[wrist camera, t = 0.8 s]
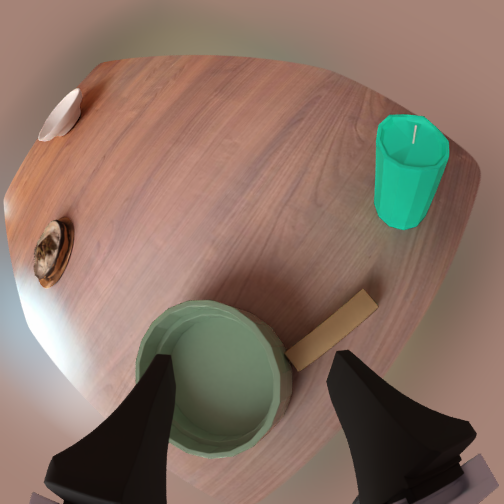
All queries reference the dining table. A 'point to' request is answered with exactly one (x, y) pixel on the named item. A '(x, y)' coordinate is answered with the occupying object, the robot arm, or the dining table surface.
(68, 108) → the bowl
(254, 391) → the mixing bowl
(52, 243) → the brown mottled round dish
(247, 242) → the dining table surface
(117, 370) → the dining table surface
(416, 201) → the candle
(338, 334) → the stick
